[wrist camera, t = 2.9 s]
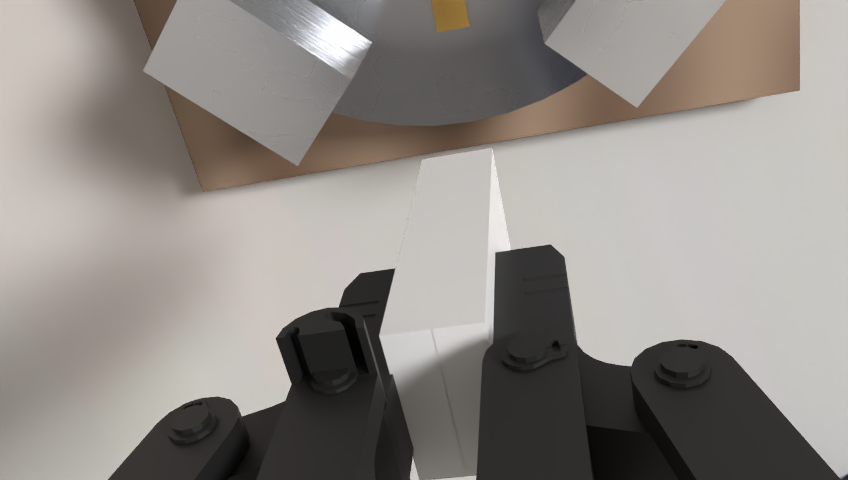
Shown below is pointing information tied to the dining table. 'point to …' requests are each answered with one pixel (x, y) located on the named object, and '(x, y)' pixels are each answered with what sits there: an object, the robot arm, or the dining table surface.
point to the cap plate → (567, 109)
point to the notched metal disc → (409, 58)
